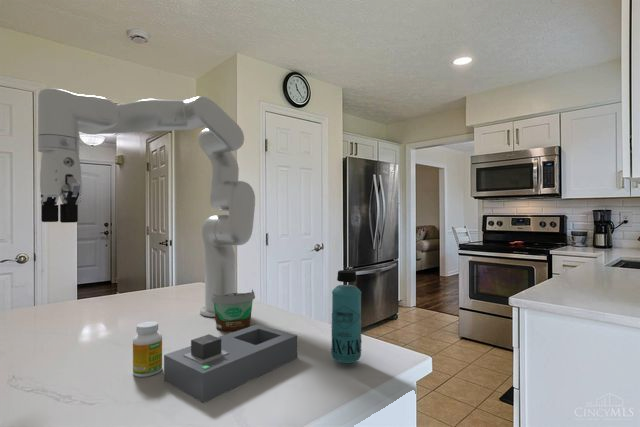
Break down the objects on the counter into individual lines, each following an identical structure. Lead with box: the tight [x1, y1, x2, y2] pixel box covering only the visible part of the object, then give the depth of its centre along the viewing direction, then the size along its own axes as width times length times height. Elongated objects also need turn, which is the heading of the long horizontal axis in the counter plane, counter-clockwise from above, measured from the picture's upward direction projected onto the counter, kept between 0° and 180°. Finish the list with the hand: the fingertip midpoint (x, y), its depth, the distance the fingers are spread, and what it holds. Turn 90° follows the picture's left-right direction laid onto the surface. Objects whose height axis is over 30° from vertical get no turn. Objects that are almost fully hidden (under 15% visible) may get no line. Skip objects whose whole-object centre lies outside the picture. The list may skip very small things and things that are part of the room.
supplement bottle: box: [132, 321, 163, 378], centre depth 73 cm, size 5×5×10 cm
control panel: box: [163, 323, 298, 404], centre depth 74 cm, size 24×13×8 cm, turn 142°
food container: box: [211, 289, 256, 333], centre depth 99 cm, size 12×6×10 cm, turn 117°
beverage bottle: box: [330, 269, 363, 364], centre depth 76 cm, size 6×7×20 cm
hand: (59, 222), depth 81 cm, fingers open, 9 cm apart
